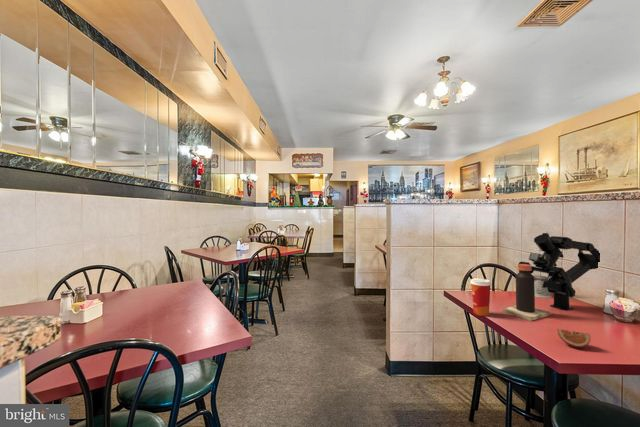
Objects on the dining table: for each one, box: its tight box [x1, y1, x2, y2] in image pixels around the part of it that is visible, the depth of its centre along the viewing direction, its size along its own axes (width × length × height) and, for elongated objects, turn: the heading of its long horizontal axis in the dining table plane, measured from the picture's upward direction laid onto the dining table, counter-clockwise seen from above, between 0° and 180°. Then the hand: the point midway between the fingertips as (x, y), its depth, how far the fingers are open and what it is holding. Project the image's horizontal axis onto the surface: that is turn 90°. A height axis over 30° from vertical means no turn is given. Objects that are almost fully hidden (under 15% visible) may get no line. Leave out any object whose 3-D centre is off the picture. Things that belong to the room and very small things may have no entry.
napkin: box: [501, 304, 551, 322], centre depth 128 cm, size 14×12×2 cm
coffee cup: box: [469, 277, 492, 317], centre depth 129 cm, size 8×8×15 cm
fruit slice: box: [556, 328, 591, 349], centre depth 98 cm, size 8×7×5 cm
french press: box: [533, 248, 553, 299], centre depth 155 cm, size 10×12×25 cm
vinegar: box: [515, 263, 536, 312], centre depth 128 cm, size 7×7×20 cm
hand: (532, 284), depth 129 cm, fingers open, 9 cm apart
